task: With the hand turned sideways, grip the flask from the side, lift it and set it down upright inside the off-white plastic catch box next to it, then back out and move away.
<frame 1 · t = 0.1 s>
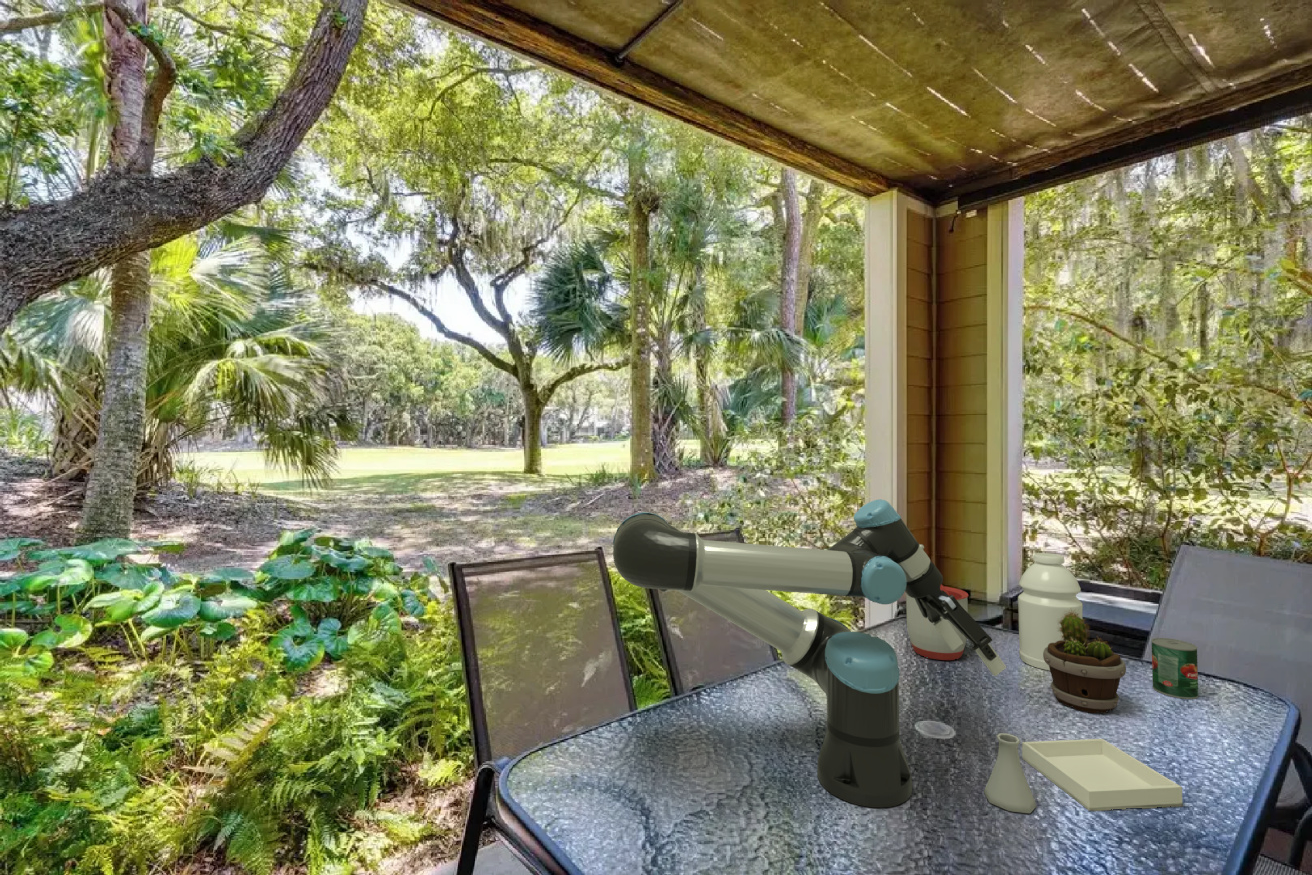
hand: (977, 658, 114), 15 cm above the table, tool tilted 35°, fingers open, 13 cm apart
flask: (1009, 801, 93), on the table
bottle: (1050, 663, 151), on the table
citrus juicer: (936, 653, 160), on the table
canned tomato: (1175, 692, 133), on the table
flowerpot: (1084, 704, 127), on the table
catch box: (1096, 780, 98), on the table
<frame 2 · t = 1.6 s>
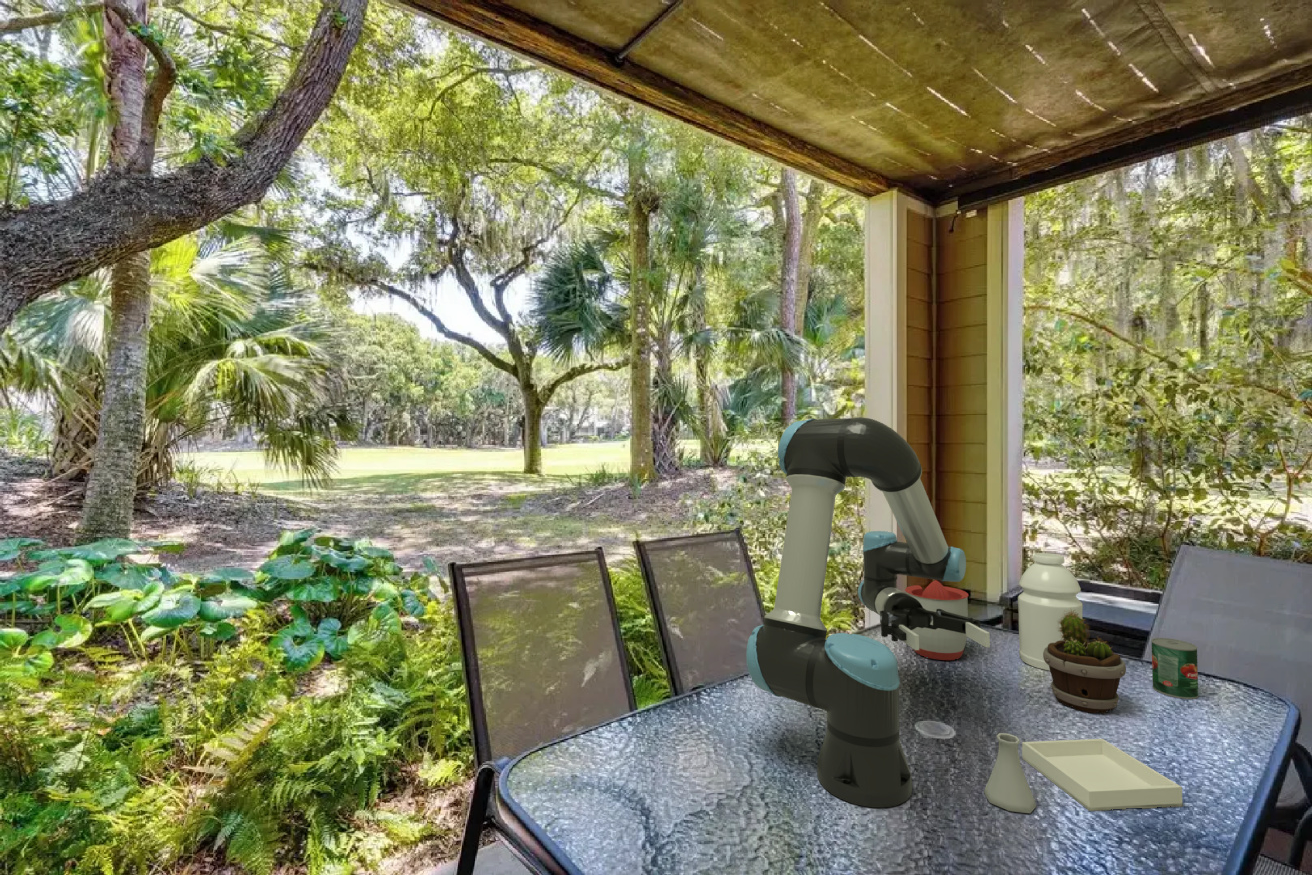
hand: (952, 641, 109), 20 cm above the table, tool horizontal, fingers open, 13 cm apart
nothing on the table moved.
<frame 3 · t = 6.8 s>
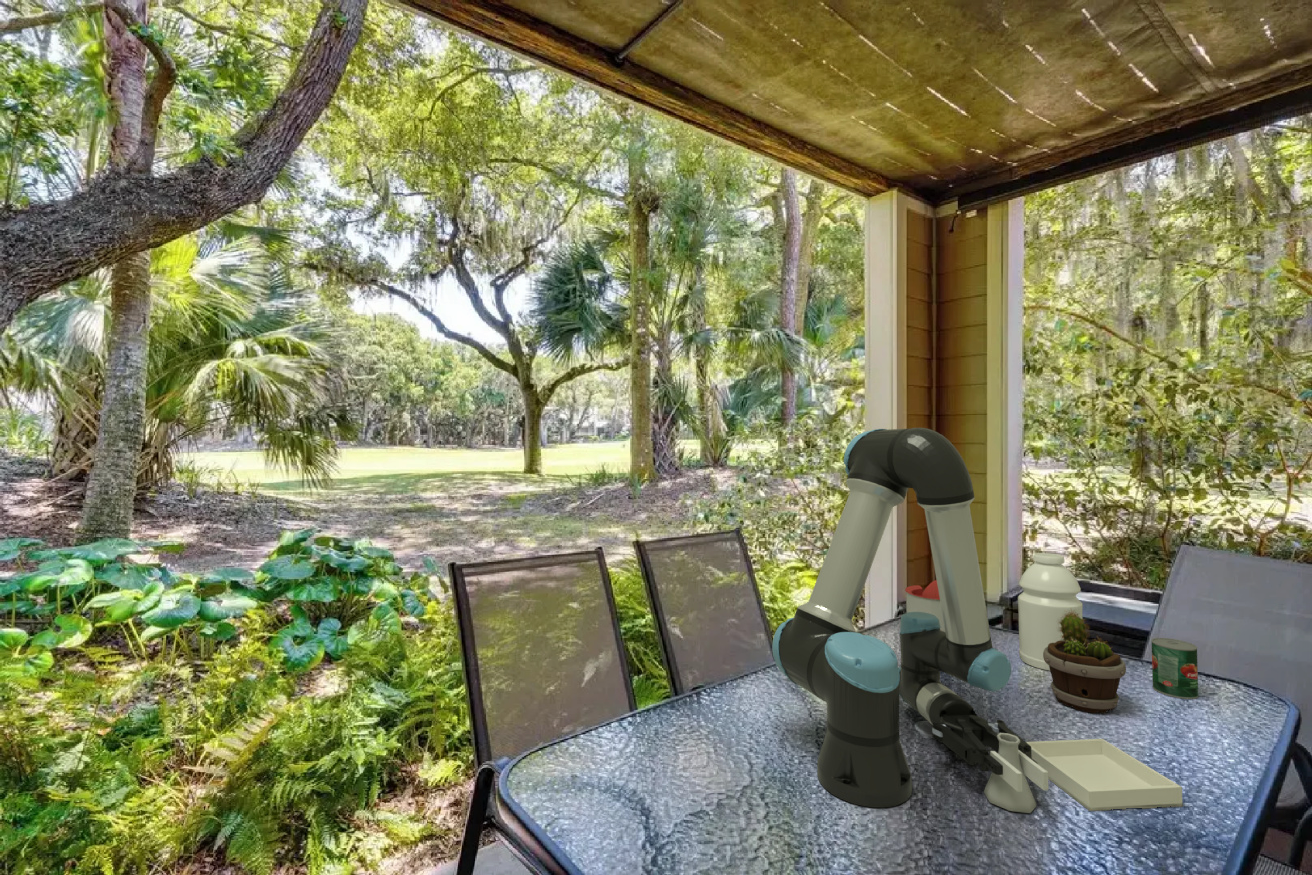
hand: (1032, 781, 88), 6 cm above the table, tool horizontal, fingers closed on flask, 3 cm apart
flask: (1009, 801, 93), on the table, touching gripper
everything else where it was.
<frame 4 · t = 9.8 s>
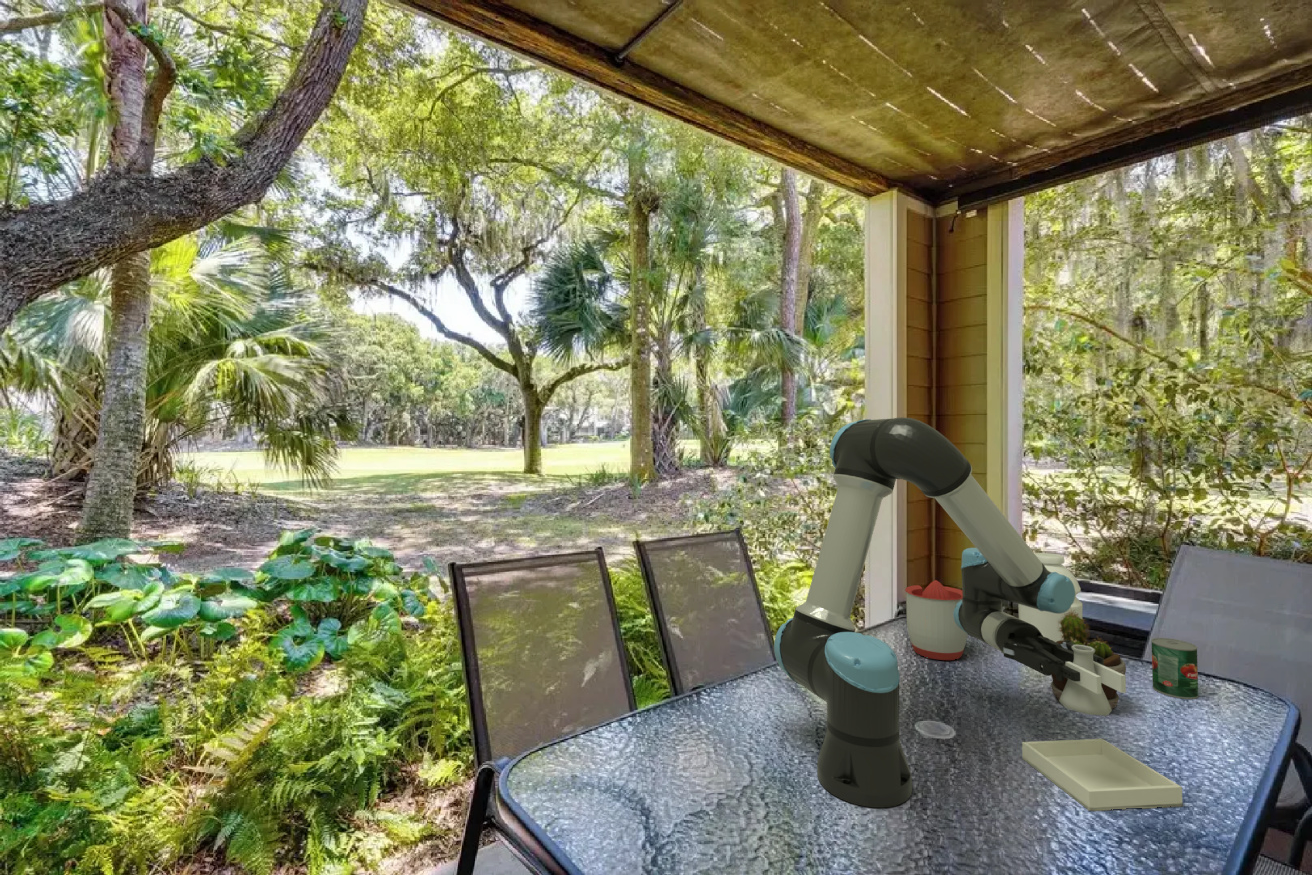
hand: (1111, 684, 93), 19 cm above the table, tool horizontal, fingers closed on flask, 3 cm apart
flask: (1084, 708, 98), point 12 cm above the table, touching gripper
everything else where it was.
when the fingers open (8 cm above the table, at t = 12.6 s): flask drops 1 cm, resting on catch box.
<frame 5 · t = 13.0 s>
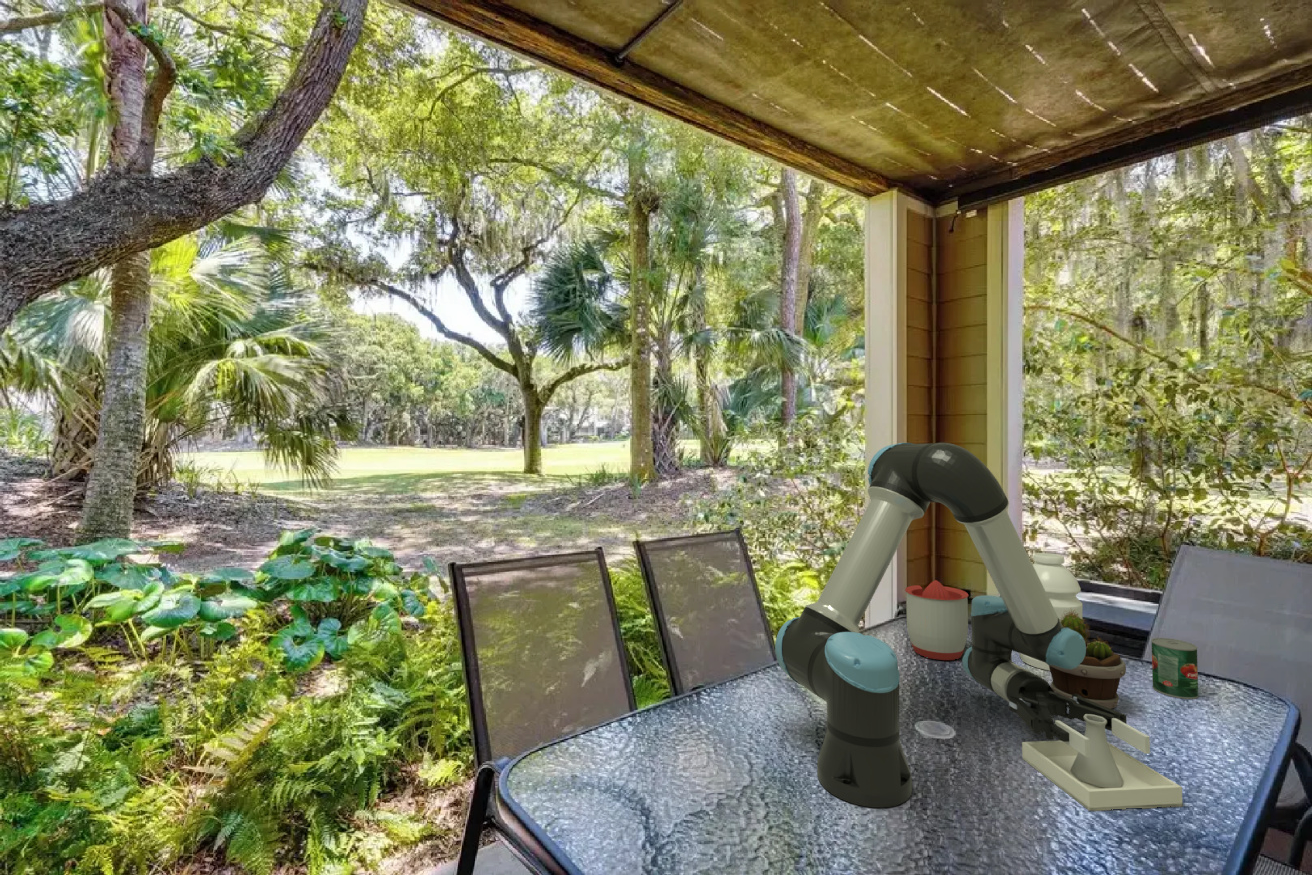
hand: (1117, 746, 94), 8 cm above the table, tool horizontal, fingers open, 9 cm apart
flask: (1096, 778, 98), resting on catch box
everything else where it was.
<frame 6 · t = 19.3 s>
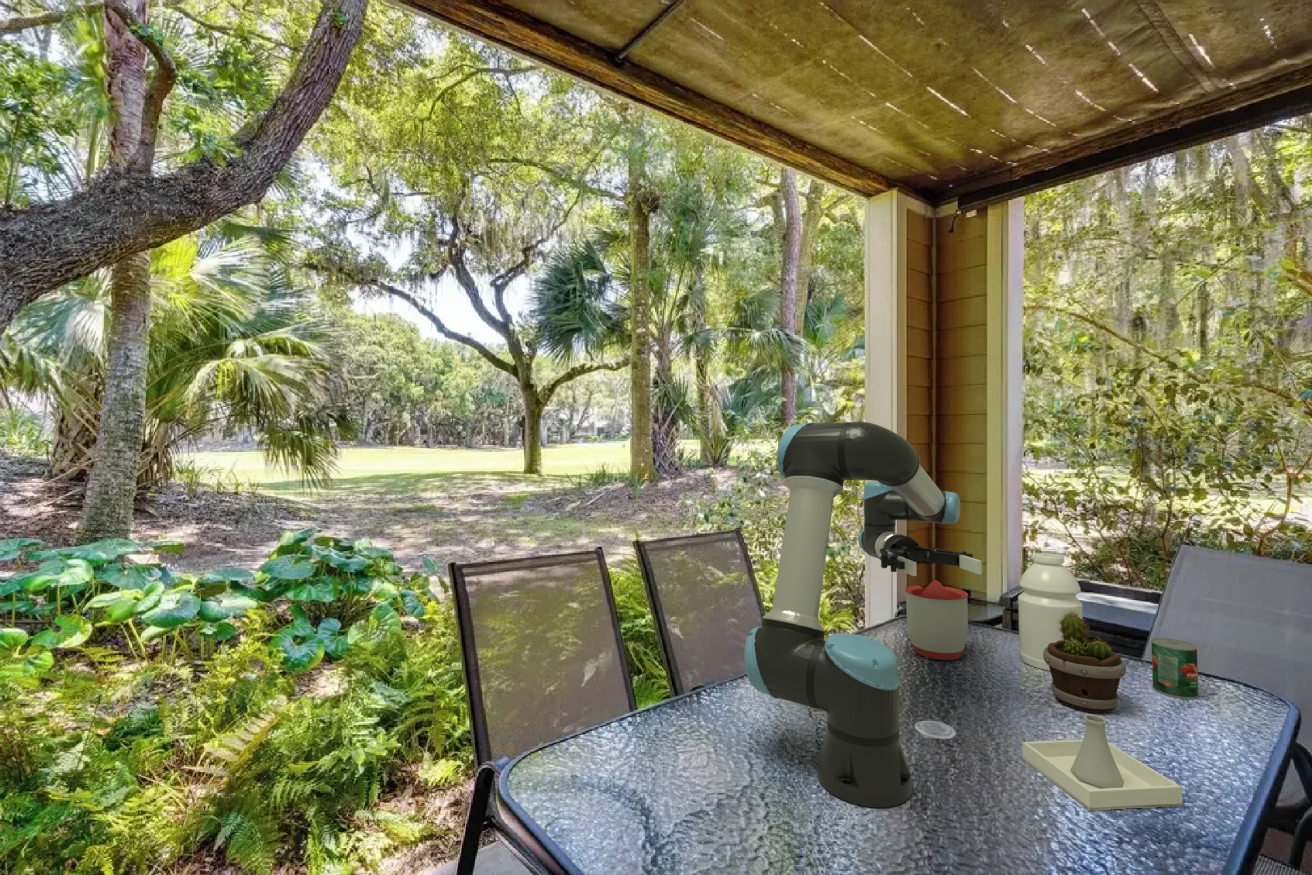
hand: (947, 568, 118), 32 cm above the table, tool horizontal, fingers open, 13 cm apart
nothing on the table moved.
at the end: flask inside the target area on the catch box (0.0 cm from its centre), point 0.3 cm above the catch box's base; flask tilted 0°; the gripper is holding nothing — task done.
